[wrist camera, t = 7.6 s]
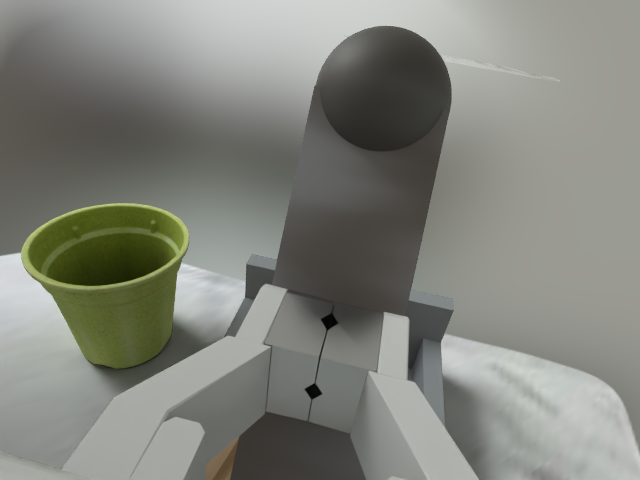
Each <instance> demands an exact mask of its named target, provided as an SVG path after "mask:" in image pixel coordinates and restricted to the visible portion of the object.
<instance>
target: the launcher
mask: <svg viewBox="0 0 640 480" xmlns="http://www.w3.org/2000/svg"><path fill="white" fill-rule="evenodd" d="M450 107H451V82H450V77H449V74H448V71H447V68H446V66H445V63H444V61H443V59H442V58H441V56H440V55H439V53H438V52H437V51H436V49H435V48H434V47H433V46H432V45H431V44H430V43H429V42H428V41H427V40H426V39H424V38H422V37H421V36H419V35H418V34H416V33H414V32H412V31H410V30H407V29H404V28H399V27H394V26H378V27H373V28H368V29H364V30H362V31H360V32H357V33H355V34H353V35H352V36H350V37H348V38H347V39H345V40H344V41H343V42H341V43H340V45H338V46H337V47H336V48H335V49H334V50H333V51H332V53H331V54H330V55H329V56H328V58H327V59H326V61H325V63H324V64H323V66H322V68H321V70H320V73H319V76H318V79H317V83H316V86H315V87H314V91H313V96H312V101H311V106H310V110H309V114H308V119H307V124H306V128H305V133H304V138H303V142H302V147H301V152H300V156H299V161H298V166H297V170H296V175H295V180H294V184H293V189H292V193H291V198H290V203H289V208H288V213H287V217H286V221H285V226H284V231H283V236H282V240H281V245H280V249H279V254H278V259H277V263H276V268H275V272H274V277H273V282H272V285H273V286H277V287H281V288H285V289H288V290H289V289H290V290H294V291H298V292H302V293H305V294H309V295H313V296H317V297H321V298H325V299H329V300H332V301H335V302H341V303H345V304H349V305H354V306H358V307H362V308H367V309H371V310H376V311H380V312H383V313H384V312H387V313H392V314H396V315H401V316H405V315H406V310H407V306H408V301H409V297H410V292H411V287H412V283H413V278H414V273H415V269H416V264H417V260H418V255H419V250H420V245H421V241H422V236H423V232H424V227H425V222H426V218H427V213H428V209H429V203H430V199H431V194H432V190H433V185H434V181H435V176H436V171H437V167H438V162H439V158H440V153H441V148H442V143H443V139H444V134H445V130H446V125H447V120H448V116H449V112H450ZM334 305H335V304H334ZM310 411H311V409H310ZM309 417H310V412H309V416H308V420H307V421H305V420H300V419H296V418H292V417H288V416H283V415H279V414H275V413H271V412H266V411H265V414H264V415H263V416H262V417H261V418H260V419H258V420H257V421H256V422H255V423H254V424H253V425H251V426H250V427H249V428H248V429H247V430H246V431H245V432H243V433H242V434H241V435H240V436H239V437H238V438H237V439H235V440H234V441H233V442H232V443H231V444H230V445H229V446H227V447H226V448H225V449H224V450H223V451H222V452H220V453H219V454H218V455H217V456H216V457H215V458H214V459H212V460H211V461H210V462H209V463H208V464H207V465H206V480H366V478H365V475H364V472H363V469H362V467H361V464H360V461H359V459H358V456H357V453H356V451H355V448H354V445H353V443H352V440H351V437H350V435H351V434H349V433H346V432H342V431H339V430H336V429H332V428H329V427H325V426H322V425H319V424H315V423H312V422H309Z"/></svg>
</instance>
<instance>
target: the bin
mask: <svg viewBox="0 0 640 480" xmlns="http://www.w3.org/2000/svg"><path fill="white" fill-rule="evenodd" d="M276 263H277V259H272V258H268V257H263V256H259V255H254V254H252V255H251V257H250V259H249V260H248V262H247V264H246V265H247V266H246V291H245V299H244V300H243V302H242V304H241V306H240V308H239V310H238V312H237V314H236V316H235V318H234V319H233V321H232V323H231V325H230V327H229V329H228V331H227V333H226V335H225V336H224V337H226V336H232V337H236V335H237V333H238V331H239V329H240V327H241V325H242V323H243V321H244V319H245V317H246V316H247V314H248V312H249V310H250V308H251V306H252V304H253V302H254V300H255V298H256V296H257V294H258V292H259V291H260V289H261V287H262V286H263V285H265V284H269V285H272V282H273V277H274V272H275V268H276ZM453 311H454V309H453V299H452V298H448V297H443V296H439V295H434V294H429V293H425V292H420V291H416V290H412V289H411V292H410V297H409V301H408V306H407V310H406V315H405V316H406V317H408V318H409V320H410V324H409V353H408V381H412V382H415V383H416V384H417V386H418V387H419V389H420V390H421V392H422V393H423V395H424V396H425V398H426V399H427V401H428V402H429V404H430V406H431V407H432V409H433V410H434V412H435V413H436V415H437V416H438V418H439V419H440V421H441V422H442V424H443V425H444V427H445V415H444V396H443V377H442V358H441V340H442V338H443V336H444V333H445V330H446V328H447V326H448V323H449V321H450V318H451V316H452V313H453Z"/></svg>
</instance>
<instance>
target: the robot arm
mask: <svg viewBox="0 0 640 480" xmlns="http://www.w3.org/2000/svg"><path fill="white" fill-rule="evenodd" d="M334 304H335V305H334ZM409 324H410V320H409V318H408V317H406V316H401V315H396V314H392V313H387V312H384V313H383V312H380V311H376V310H371V309H367V308H362V307H358V306H354V305H349V304H345V303H341V302H335V301H332V300H329V299H325V298H321V297H317V296H313V295H309V294H305V293H302V292H298V291H294V290H290V289H289V290H288V289H285V288H281V287H277V286H273V285H269V284H265V285H263V286H262V287H261V289H260V291H259V292H258V294H257V296H256V298H255V300H254V302H253V304H252V306H251V308H250V310H249V312H248V314H247V316H246V317H245V319H244V321H243V323H242V325H241V327H240V329H239V331H238V333H237V335H236V337H232V336H226V337H224V338H223V339H221V340H219V341H217V342H215V343H213V344H212V345H210V346H208V347H206V348H204V349H202V350H200V351H199V352H197V353H195V354H193V355H191V356H189V357H187V358H186V359H184V360H182V361H180V362H178V363H176V364H174V365H173V366H171V367H169V368H167V369H165V370H163V371H161V372H160V373H158V374H156V375H154V376H152V377H150V378H149V379H147V380H145V381H143V382H141V383H139V384H137V385H136V386H134V387H132V388H130V389H128V390H126V391H124V392H123V393H121V394H119V395H117V396H115V397H114V398H113V399H112V401H111V402H110V403H109V405H108V406H107V407H106V409H105V410H104V411H103V413H102V414H101V415H100V417H99V418H98V419H97V421H96V422H95V424H94V425H93V426H92V428H91V429H90V430H89V432H88V433H87V434H86V436H85V437H84V438H83V440H82V441H81V443H80V444H79V445H78V447H77V448H76V449H75V451H74V452H73V453H72V455H71V456H70V457H69V459H68V460H67V461H66V463H65V464H64V466H63V467H62V468H61V469H57V468H54V467H51V466H47V465H44V464H40V463H37V462H34V461H30V460H27V459H23V458H20V457H17V456H13V455H10V454H6V453H3V452H0V480H206V465H207V464H208V463H209V462H210V461H211V460H212V459H214V458H215V457H216V456H217V455H218V454H219V453H220V452H222V451H223V450H224V449H225V448H226V447H227V446H229V445H230V444H231V443H232V442H233V441H234V440H235V439H237V438H238V437H239V436H240V435H241V434H242V433H243V432H245V431H246V430H247V429H248V428H249V427H250V426H251V425H253V424H254V423H255V422H256V421H257V420H258V419H260V418H261V417H262V416H263V415H264V414H265V411H266V412H271V413H275V414H279V415H283V416H288V417H292V418H296V419H300V420H305V421H307V420H308V416H309V412H310V417H309V422H312V423H315V424H319V425H322V426H325V427H329V428H332V429H336V430H339V431H342V432H346V433H349V434H351V435H350V437H351V440H352V443H353V445H354V448H355V451H356V453H357V456H358V459H359V461H360V464H361V467H362V469H363V472H364V475H365V478H366V480H479V478H478V477H477V475H476V474H475V472H474V471H473V469H472V468H471V466H470V465H469V463H468V462H467V460H466V459H465V457H464V456H463V454H462V453H461V451H460V450H459V448H458V447H457V445H456V443H455V442H454V440H453V439H452V437H451V436H450V434H449V433H448V431H447V430H446V428H445V427H444V425H443V424H442V422H441V421H440V419H439V418H438V416H437V415H436V413H435V412H434V410H433V409H432V407H431V406H430V404H429V402H428V401H427V399H426V398H425V396H424V395H423V393H422V392H421V390H420V389H419V387H418V386H417V384H416V383H415V382H412V381H408V353H409ZM310 409H311V411H310Z"/></svg>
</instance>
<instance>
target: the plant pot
mask: <svg viewBox="0 0 640 480" xmlns="http://www.w3.org/2000/svg"><path fill="white" fill-rule="evenodd" d="M188 246H189V232H188V229H187V228H186V226H185V225H184V223H183V222H182V221H181V220H180V219H179V218H178V217H176V216H174V215H173V214H171V213H170V212H167V211H165V210H162V209H159V208H155V207H152V206H146V205H139V204H122V203H121V204H105V205H99V206H92V207H87V208H82V209H78V210H75V211H71V212H69V213H66V214H64V215H61V216H59V217H57V218H55V219H52V220H51V221H49V222H47V223H46V224H44V225H43V226H41V227H39V228H38V229H36V231H34V232H33V233H32V234H31V235H30V236H29V237H28V239H27V240H26V242H25V244H24V245H23V248H22V251H21V259H22V263H23V265H24V268H25V269H26V271H27V272H28V273H29V275H31V276H32V277H33V278H34V279H35V280H37V281H38V282H40V283H41V285H42V286H43V287H44V288H45V289H46V290H47V291H48V292H49V293H50V294H51V295H52V296H53V298H54V300H55V302H56V303H57V305H58V307H59V309H60V311H61V313H62V315H63V316H64V318H65V320H66V322H67V324H68V326H69V328H70V330H71V332H72V334H73V335H74V337H75V339H76V341H77V343H78V345H79V347H80V349H81V351H82V353H83V355H84V356H85V357H86V358H87V359H88V360H89V361H90V362H92V363H93V364H101V365H105V366H109V367H112V368H115V369H120V368H127V367H132V366H136V365H139V364H142V363H144V362H146V361H148V360H150V359H152V358H153V357H155V356H156V355H157V354H159V353H160V352H161V351H162V349H163V347H164V346H165V344H166V343H167V341H168V340H169V338H170V336H171V333H172V323H173V312H174V301H175V290H176V280H177V272H178V270H179V268H180V265H181V262H182V258H183V257H184V255H185V253H186V252H187V249H188Z"/></svg>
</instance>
